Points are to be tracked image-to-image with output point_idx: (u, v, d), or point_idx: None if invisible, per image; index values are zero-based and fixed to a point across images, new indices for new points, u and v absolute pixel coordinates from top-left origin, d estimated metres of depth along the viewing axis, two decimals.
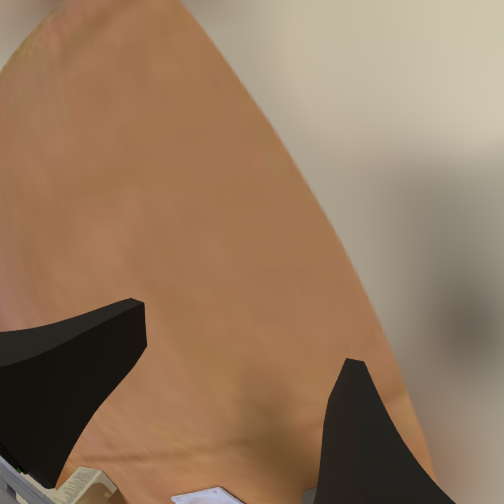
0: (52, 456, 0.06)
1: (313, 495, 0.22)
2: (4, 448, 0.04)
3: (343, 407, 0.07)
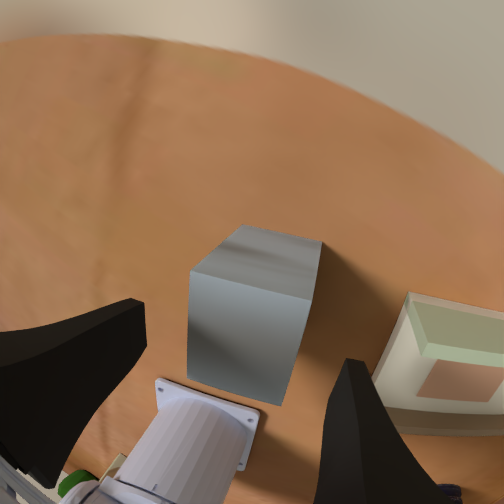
0: (52, 456, 0.06)
1: None
2: (4, 448, 0.04)
3: (343, 407, 0.07)
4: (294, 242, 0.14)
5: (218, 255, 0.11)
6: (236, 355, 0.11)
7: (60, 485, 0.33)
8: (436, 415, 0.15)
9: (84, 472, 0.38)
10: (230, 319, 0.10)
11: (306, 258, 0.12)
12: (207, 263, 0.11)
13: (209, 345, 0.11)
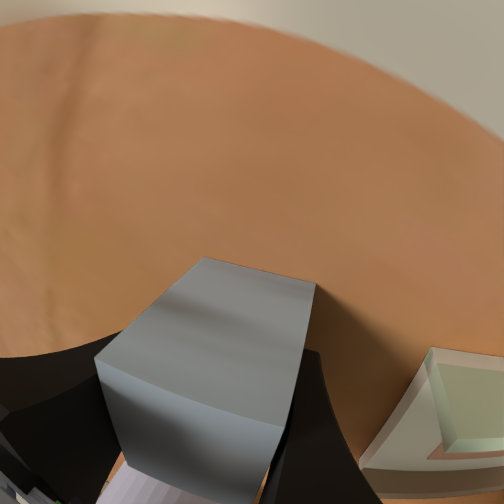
0: (91, 483, 0.06)
1: None
2: (44, 483, 0.04)
3: None
4: (274, 288, 0.10)
5: (147, 323, 0.07)
6: (180, 463, 0.06)
7: None
8: (447, 475, 0.10)
9: None
10: (161, 428, 0.06)
11: (289, 322, 0.08)
12: (124, 342, 0.06)
13: (142, 445, 0.06)
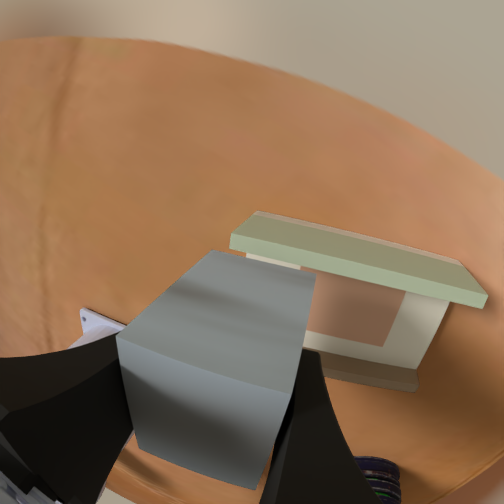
0: (91, 482, 0.06)
1: None
2: (43, 483, 0.04)
3: None
4: (278, 277, 0.10)
5: (164, 306, 0.08)
6: (192, 439, 0.07)
7: None
8: None
9: None
10: (176, 402, 0.07)
11: (292, 306, 0.09)
12: (143, 322, 0.07)
13: (156, 423, 0.07)
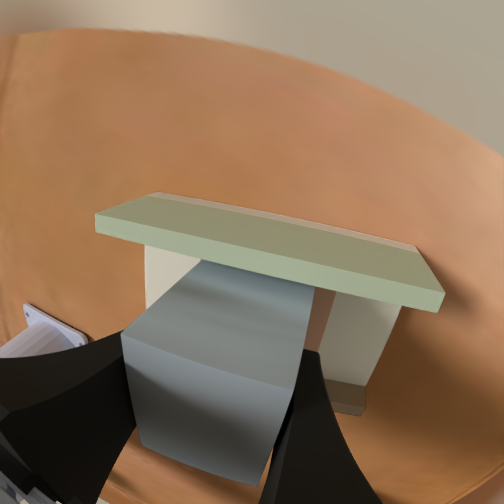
0: (91, 483, 0.06)
1: None
2: (44, 483, 0.04)
3: None
4: None
5: (167, 304, 0.08)
6: (194, 436, 0.07)
7: None
8: None
9: None
10: (179, 399, 0.07)
11: (294, 304, 0.09)
12: (148, 320, 0.07)
13: (159, 421, 0.07)
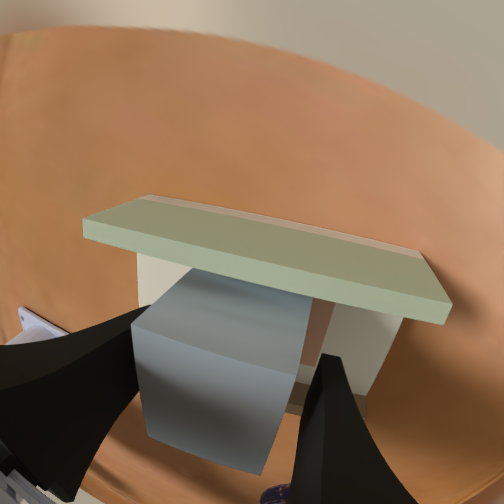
0: (72, 470, 0.06)
1: None
2: (24, 466, 0.04)
3: (315, 402, 0.08)
4: None
5: (175, 296, 0.08)
6: (201, 424, 0.08)
7: None
8: None
9: None
10: (187, 387, 0.07)
11: (296, 297, 0.09)
12: (156, 312, 0.08)
13: (166, 410, 0.08)
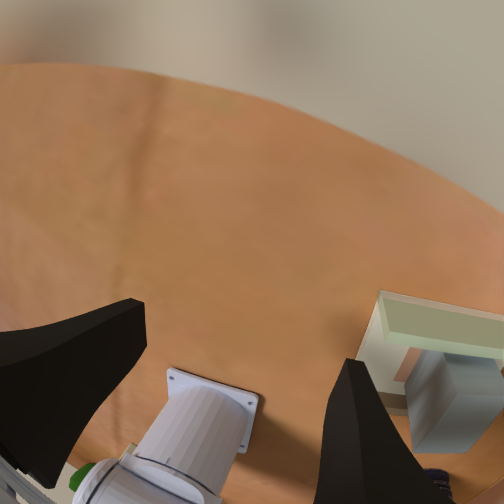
0: (52, 456, 0.06)
1: (413, 382, 0.17)
2: (4, 448, 0.04)
3: (343, 407, 0.07)
4: None
5: (455, 372, 0.12)
6: (458, 432, 0.12)
7: (71, 478, 0.37)
8: None
9: None
10: (466, 415, 0.11)
11: (488, 358, 0.13)
12: (458, 383, 0.11)
13: (444, 431, 0.12)
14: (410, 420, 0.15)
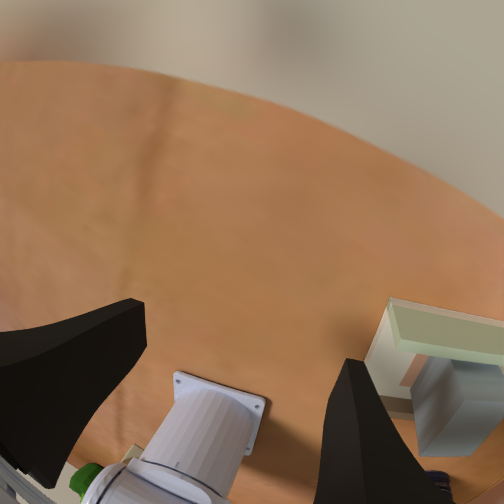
0: (52, 456, 0.06)
1: (420, 386, 0.17)
2: (4, 448, 0.04)
3: (343, 407, 0.07)
4: None
5: (462, 378, 0.12)
6: (463, 436, 0.12)
7: (72, 478, 0.37)
8: None
9: (95, 465, 0.41)
10: (472, 419, 0.11)
11: (493, 365, 0.13)
12: (465, 390, 0.11)
13: (450, 435, 0.12)
14: (416, 424, 0.15)
